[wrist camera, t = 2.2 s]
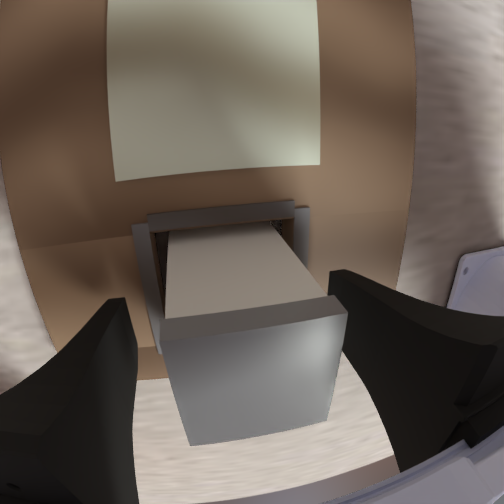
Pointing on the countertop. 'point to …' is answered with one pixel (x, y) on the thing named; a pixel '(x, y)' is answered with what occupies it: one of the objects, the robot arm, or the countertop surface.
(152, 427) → the countertop surface
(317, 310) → the plug
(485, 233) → the countertop surface
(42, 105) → the brown board with panel
